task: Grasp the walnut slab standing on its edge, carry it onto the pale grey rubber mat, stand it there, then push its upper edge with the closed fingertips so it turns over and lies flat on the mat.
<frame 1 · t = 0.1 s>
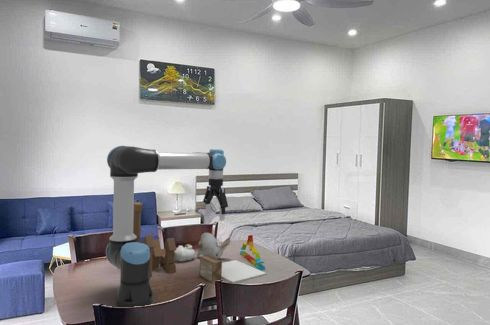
hand: (214, 218, 194), 28 cm above the table, fingers open, 13 cm apart
multicoloured triangular frame: (251, 262, 212), on the table
building blocks: (153, 270, 191), on the table
slab: (210, 278, 183), on the table
toy: (213, 259, 214), on the table
mat: (234, 271, 194), on the table
cat figurine: (183, 260, 209), on the table
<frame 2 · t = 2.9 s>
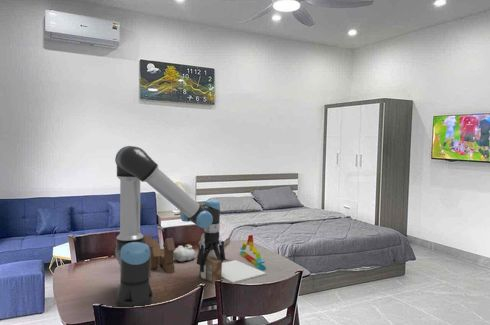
hand: (210, 276, 183), 1 cm above the table, fingers open, 8 cm apart
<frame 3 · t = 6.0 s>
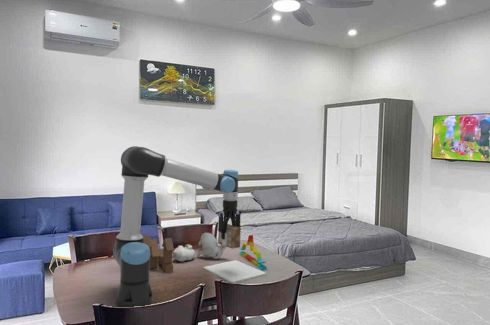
hand: (228, 244, 189), 16 cm above the table, fingers closed on slab, 5 cm apart
slab: (228, 245, 189), point 15 cm above the table, touching gripper
when the fingers open (2 cm above the table, at t = 8.6 s): slab stays where it is, resting on mat.
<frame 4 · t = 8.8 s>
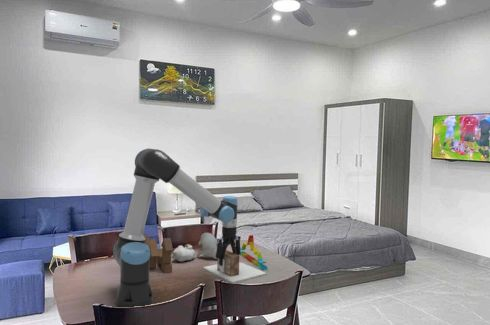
hand: (228, 270, 190), 2 cm above the table, fingers open, 7 cm apart
slab: (227, 272, 190), point 1 cm above the table, touching mat
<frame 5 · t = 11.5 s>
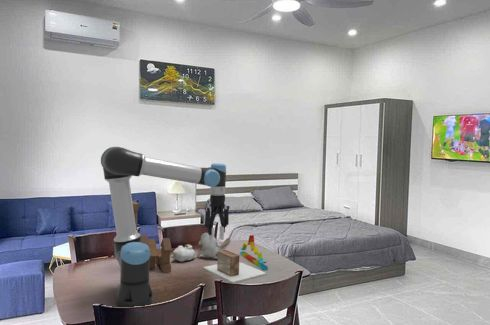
hand: (216, 240, 184), 19 cm above the table, fingers open, 6 cm apart
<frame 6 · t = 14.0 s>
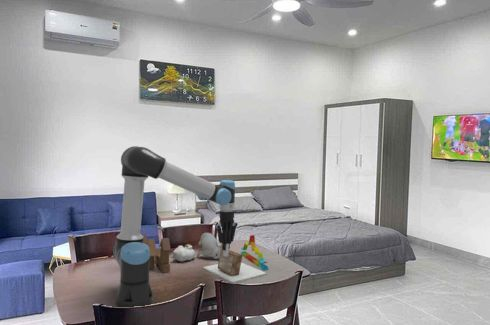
hand: (225, 255, 188), 10 cm above the table, fingers closed
slab: (228, 271, 190), point 1 cm above the table, tilted 11°, touching gripper, mat
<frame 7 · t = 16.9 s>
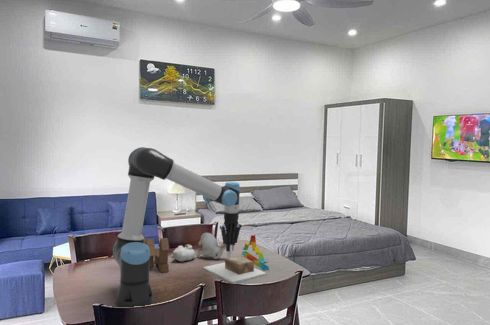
hand: (229, 257, 190), 9 cm above the table, fingers closed
slab: (231, 266, 191), point 3 cm above the table, tilted 90°, touching mat
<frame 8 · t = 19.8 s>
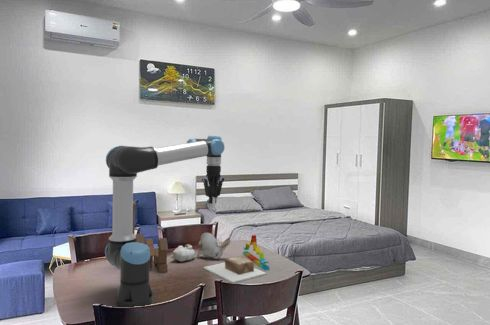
hand: (212, 209, 193), 32 cm above the table, fingers closed
at the end: slab tilted 90°; slab inside the target area (4.5 cm from its centre), point 3.3 cm above the table; the gripper is holding nothing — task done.
